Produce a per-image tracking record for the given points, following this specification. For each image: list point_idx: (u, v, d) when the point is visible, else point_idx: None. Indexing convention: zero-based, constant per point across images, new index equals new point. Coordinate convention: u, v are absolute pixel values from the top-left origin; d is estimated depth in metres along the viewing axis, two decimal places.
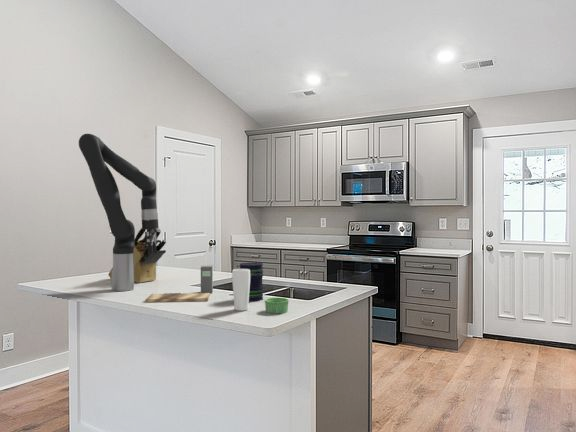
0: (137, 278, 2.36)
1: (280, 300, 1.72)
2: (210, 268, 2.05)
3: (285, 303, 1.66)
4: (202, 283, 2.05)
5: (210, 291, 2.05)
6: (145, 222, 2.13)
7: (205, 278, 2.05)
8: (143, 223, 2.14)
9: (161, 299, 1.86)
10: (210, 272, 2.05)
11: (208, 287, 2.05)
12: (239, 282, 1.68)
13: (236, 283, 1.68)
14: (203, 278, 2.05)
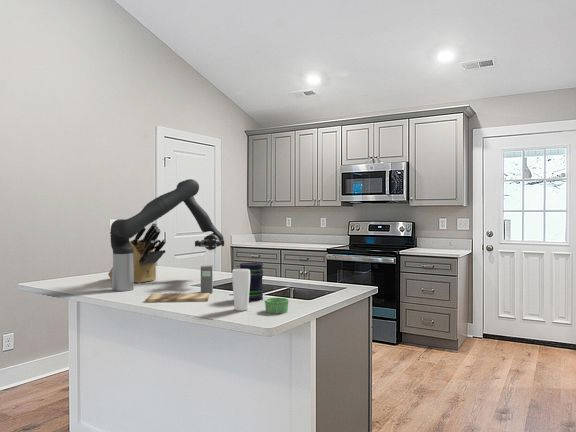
0: (137, 278, 2.36)
1: (280, 300, 1.72)
2: (210, 268, 2.05)
3: (285, 303, 1.66)
4: (202, 283, 2.05)
5: (210, 291, 2.05)
6: (217, 239, 2.34)
7: (205, 278, 2.05)
8: (216, 237, 2.33)
9: (161, 299, 1.86)
10: (210, 272, 2.05)
11: (208, 287, 2.05)
12: (239, 282, 1.68)
13: (236, 283, 1.68)
14: (203, 278, 2.05)
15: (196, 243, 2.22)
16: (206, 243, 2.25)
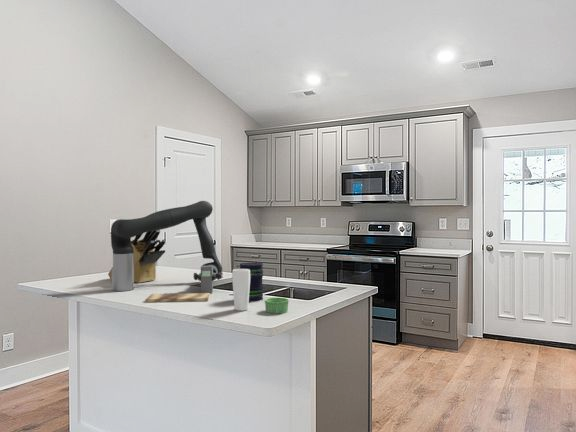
0: (137, 278, 2.36)
1: (280, 300, 1.72)
2: (210, 268, 2.05)
3: (285, 303, 1.66)
4: (202, 283, 2.05)
5: (210, 291, 2.05)
6: (216, 270, 2.21)
7: (205, 278, 2.05)
8: (214, 268, 2.20)
9: (161, 299, 1.86)
10: (210, 272, 2.05)
11: (208, 287, 2.05)
12: (239, 282, 1.68)
13: (236, 283, 1.68)
14: (203, 278, 2.05)
15: (197, 276, 2.09)
16: None
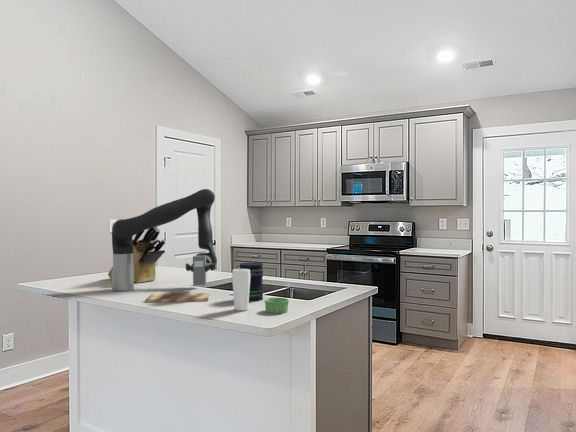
0: (136, 278, 2.36)
1: (280, 300, 1.72)
2: (203, 258, 1.91)
3: (285, 303, 1.66)
4: (194, 274, 1.91)
5: (203, 282, 1.91)
6: (210, 261, 2.07)
7: (198, 269, 1.91)
8: (208, 259, 2.06)
9: (161, 299, 1.86)
10: (203, 262, 1.91)
11: (201, 279, 1.91)
12: (239, 282, 1.68)
13: (236, 283, 1.68)
14: (195, 268, 1.91)
15: (189, 267, 1.95)
16: None
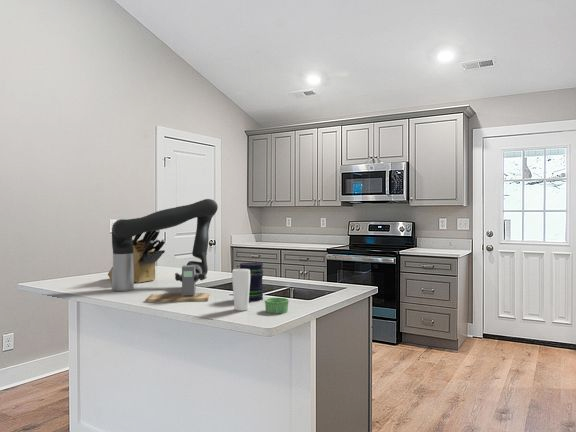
0: (136, 278, 2.36)
1: (280, 300, 1.72)
2: (192, 268, 1.91)
3: (285, 303, 1.66)
4: (183, 284, 1.90)
5: (192, 293, 1.91)
6: (200, 270, 2.06)
7: (187, 279, 1.91)
8: (198, 268, 2.06)
9: (161, 299, 1.86)
10: (192, 272, 1.91)
11: (190, 289, 1.91)
12: (239, 282, 1.68)
13: (236, 283, 1.68)
14: (184, 278, 1.90)
15: (178, 277, 1.94)
16: None
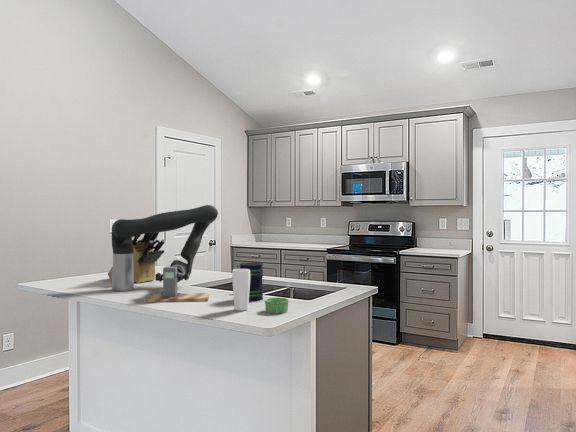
0: (136, 278, 2.36)
1: (280, 300, 1.72)
2: (173, 269, 1.90)
3: (285, 303, 1.66)
4: (165, 285, 1.90)
5: (173, 294, 1.90)
6: (182, 270, 2.05)
7: (168, 280, 1.90)
8: (181, 268, 2.05)
9: (161, 299, 1.86)
10: (173, 274, 1.90)
11: (171, 290, 1.90)
12: (239, 282, 1.68)
13: (236, 283, 1.68)
14: (166, 280, 1.90)
15: (157, 277, 1.94)
16: None
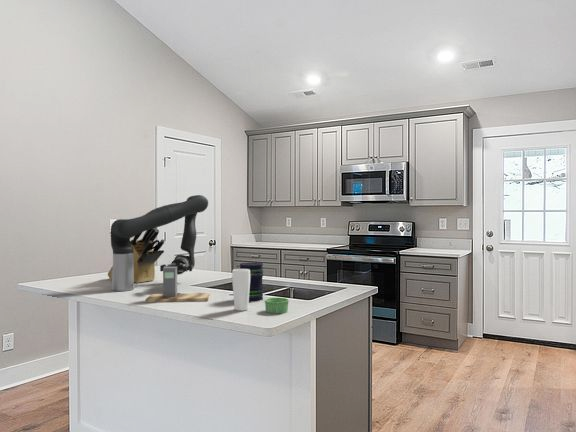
0: (135, 278, 2.36)
1: (280, 300, 1.72)
2: (173, 269, 1.90)
3: (285, 303, 1.66)
4: (165, 285, 1.90)
5: (173, 294, 1.90)
6: (186, 263, 2.20)
7: (168, 280, 1.90)
8: (184, 260, 2.19)
9: (161, 299, 1.86)
10: (173, 274, 1.90)
11: (171, 290, 1.90)
12: (239, 282, 1.68)
13: (236, 283, 1.68)
14: (166, 280, 1.90)
15: (161, 268, 2.09)
16: None
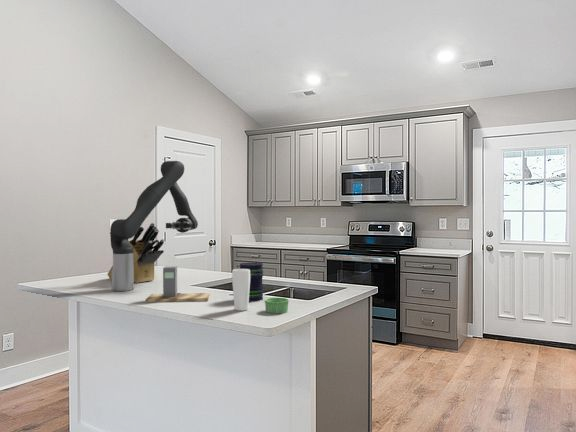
0: (135, 278, 2.36)
1: (280, 300, 1.72)
2: (173, 269, 1.90)
3: (285, 303, 1.66)
4: (165, 285, 1.90)
5: (173, 294, 1.90)
6: (190, 222, 2.33)
7: (168, 280, 1.90)
8: (188, 220, 2.33)
9: (161, 299, 1.86)
10: (173, 274, 1.90)
11: (171, 290, 1.90)
12: (239, 282, 1.68)
13: (236, 283, 1.68)
14: (166, 280, 1.90)
15: (167, 225, 2.22)
16: (177, 225, 2.24)
